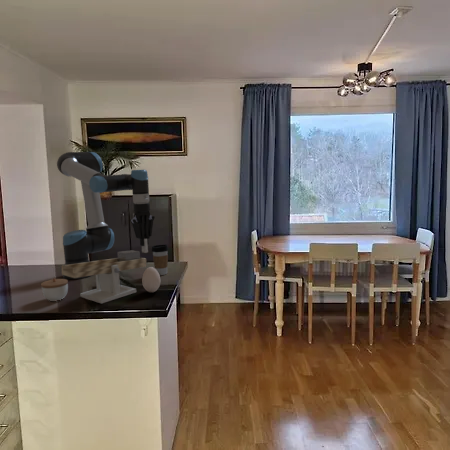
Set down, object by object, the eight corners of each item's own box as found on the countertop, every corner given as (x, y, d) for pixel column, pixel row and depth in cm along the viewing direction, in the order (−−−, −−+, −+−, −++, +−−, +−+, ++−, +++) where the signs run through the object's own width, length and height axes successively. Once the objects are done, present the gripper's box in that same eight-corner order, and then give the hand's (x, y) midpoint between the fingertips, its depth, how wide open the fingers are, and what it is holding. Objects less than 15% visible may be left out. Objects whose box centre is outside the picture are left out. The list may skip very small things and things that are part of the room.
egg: (145, 296, 178) (143, 270, 176) (141, 291, 185) (139, 266, 183) (163, 293, 181) (161, 267, 179) (158, 288, 188) (157, 264, 187)
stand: (101, 303, 170) (98, 270, 168) (80, 296, 181) (77, 265, 179) (136, 292, 184) (134, 261, 182) (114, 286, 194) (112, 257, 192)
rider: (125, 264, 185) (125, 253, 184) (117, 262, 188) (117, 251, 188) (139, 262, 191) (139, 251, 190) (131, 260, 194) (131, 250, 194)
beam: (74, 278, 164) (74, 268, 163) (61, 274, 170) (61, 264, 170) (146, 266, 191) (146, 257, 191) (132, 263, 198) (132, 255, 197)
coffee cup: (166, 276, 208) (164, 247, 206) (150, 275, 210) (148, 247, 208) (172, 271, 216) (170, 243, 214) (156, 271, 218) (154, 243, 216)
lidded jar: (47, 296, 183) (45, 275, 182) (72, 294, 184) (70, 274, 183) (39, 304, 173) (36, 282, 171) (65, 302, 174) (63, 281, 172)
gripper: (135, 204, 186) (139, 255, 189) (157, 201, 195) (160, 250, 199) (125, 204, 190) (129, 254, 194) (147, 201, 200) (150, 248, 204)
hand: (145, 252), depth 196 cm, fingers closed
